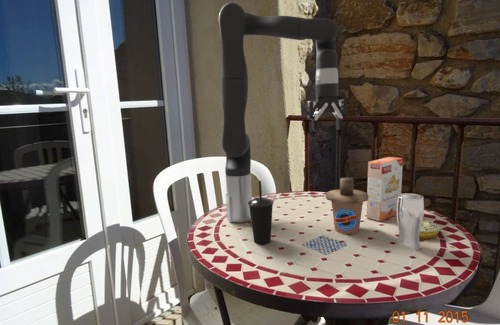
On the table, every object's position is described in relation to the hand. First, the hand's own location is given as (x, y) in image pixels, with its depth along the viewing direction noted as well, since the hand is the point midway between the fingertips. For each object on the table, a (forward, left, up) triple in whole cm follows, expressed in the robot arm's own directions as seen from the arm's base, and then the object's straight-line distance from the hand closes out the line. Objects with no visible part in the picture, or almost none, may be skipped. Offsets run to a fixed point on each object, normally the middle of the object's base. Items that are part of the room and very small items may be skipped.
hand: (327, 130), depth 118 cm
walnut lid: (-1, -15, -20) cm, 25 cm away
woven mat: (-13, -23, -33) cm, 42 cm away
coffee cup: (-1, -15, -32) cm, 36 cm away
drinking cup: (-29, -14, -32) cm, 46 cm away
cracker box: (+20, -5, -32) cm, 38 cm away
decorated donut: (+20, -23, -32) cm, 45 cm away
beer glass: (+10, -30, -32) cm, 45 cm away
